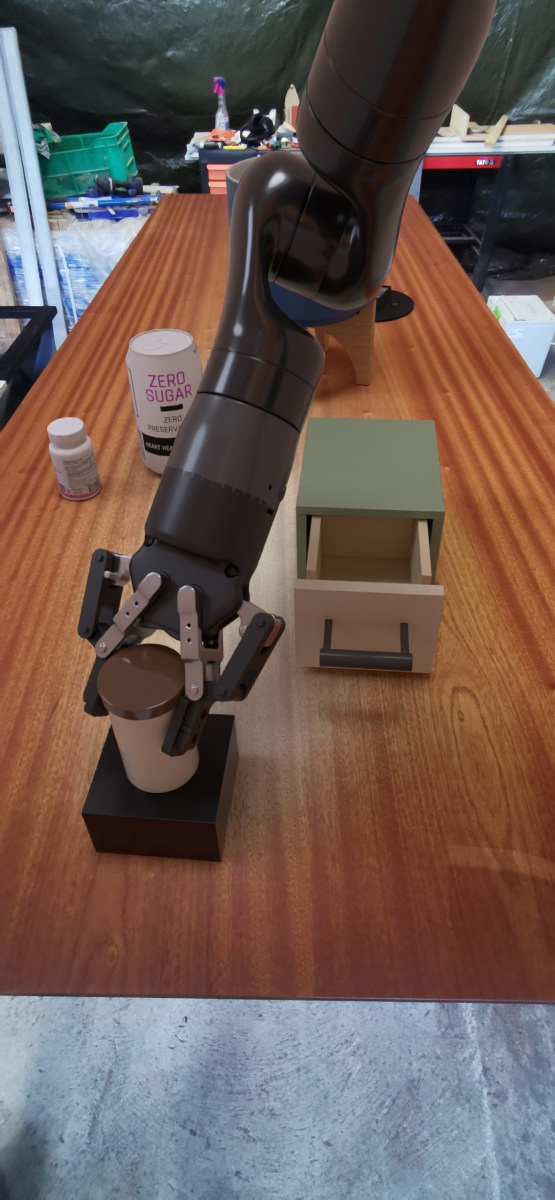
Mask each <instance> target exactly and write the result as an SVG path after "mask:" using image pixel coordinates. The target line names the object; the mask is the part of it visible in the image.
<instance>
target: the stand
mask: <svg viewBox="0 0 555 1200" xmlns="http://www.w3.org/2000/svg"><path fill="white" fill-rule="evenodd" d="M197 745H198V751H199V764H198V767H197V769H196V771H195V773H194V775H193V776H192V777H191V778H190V779H189V780H188V781H187V782H186V783H185V784H184V785H182V786H180V787H179V788H177V789H174V790H172V791H168V792H163V793H151V792H146V791H143V790H141V789H139V788H137V787H136V786H134V785H133V784H132V783H131V782H130V780H129V779H128V777H127V775H126V772H125V768H124V765H123V762H122V758H121V755H120V751H119V748H118V745H117V741H116V738H115V734H114V731H113V727H112V724H111V723H110V726H109V729H108V732H107V734H106V738H105V741H104V744H103V747H102V749H101V752H100V755H99V759H98V761H97V765H96V767H95V771H94V774H93V776H92V780H91V783H90V785H89V789H88V791H87V795H86V798H85V801H84V803H83V807H82V809H81V813H80V814H81V816H82V820H83V822H84V824H85V827H86V831H87V832H88V836H89V837H90V840H91V843H92V846H93V848H94V851H95V852H98V853H108V854H123V855H133V856H134V855H135V856H147V857H160V858H172V859H182V860H183V859H185V860H197V861H209V862H222V859H223V852H224V847H225V840H226V836H227V835H226V834H227V828H228V824H229V823H228V822H229V817H230V811H231V805H232V799H233V792H234V786H235V781H236V780H235V779H236V774H237V768H238V764H239V763H238V762H239V756H240V755H239V744H238V734H237V725H236V716H235V714H227V713H212V712H211V713H210V712H209V714H208V717H207V720H206V723H205V725H204V728H203V731H202V734H201V737H200V739H199V742H198V744H197Z"/></svg>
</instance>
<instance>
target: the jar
mask: <svg viewBox="0 0 555 1200" xmlns="http://www.w3.org/2000/svg"><path fill="white" fill-rule="evenodd" d="M97 688H98V692H99V695H100V698H101V701H102V703H103V705H104V706H105V708H106V709H107V710H108V714H109V715H108V717H109V720H110V725H111V724H112V727H113V731H114V734H115V738H116V741H117V745H118V748H119V751H120V755H121V758H122V762H123V765H124V768H125V772H126V775H127V777H128V779H129V780H130V782H131V783H132V784H133V785H134V786H136V787H137V788H139V789H141V790H143V791H146V792H151V793H163V792H168V791H172V790H174V789H177V788H179V787H180V786H182V785H184V784H185V783H186V782H187V781H188V780H189V779H190V778H191V777H192V776H193V775H194V773H195V771H196V769H197V767H198V764H199V751H198V745H196V746H195V747H194V749H192V750H187V752H186V753H185V754H184V755H181V756H175V757H171V756H169V755H167V754H165V753H163V752H162V751H161V748H162V744H163V742H164V739H165V736H166V733H167V730H168V728H169V725H170V722H171V719H172V717H173V714H174V711H175V708H176V705H177V703H178V700H179V698H180V697H181V696H186V692H185V664H184V662H183V660H182V659H181V653H179V652H178V651H177V650H175V649H174V648H172V647H170V646H168V645H166V644H161V643H152V642H151V643H150V642H147V643H141V644H138V645H133V646H130V647H127V648H125V649H123V650H120V651H119V652H117V653H115V654H114V655H113V656H111V657H110V658H109V659H108V660H107V661H106V662H105V663H104V665H103V666H102V668H101V670H100V672H99V674H98V678H97Z"/></svg>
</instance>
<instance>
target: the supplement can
mask: <svg viewBox="0 0 555 1200" xmlns="http://www.w3.org/2000/svg"><path fill="white" fill-rule="evenodd" d="M125 366H126V371H127V376H128V377H127V378H128V384H129V388H130V394H131V400H132V406H133V412H134V417H135V423H136V429H137V434H138V440H139V447H140V452H141V453H140V454H141V458H142V461H143V463H144V466H145V467H147V468H148V469H149V470H151V471H152V472H154V473H156V474H159V475H161V476H162V475H163V472H164V469H165V467H166V464H167V461H168V458H169V456H170V453H171V450H172V447H173V444H174V441H175V438H176V436H177V433H178V431H179V428H180V426H181V424H182V422H183V420H184V418H185V416H186V414H187V412H188V410H189V408H190V406H191V404H192V402H193V400H194V397H195V395H197V394H196V392H197V389H198V386H199V383H200V380H201V378H202V375H203V365H202V356H201V350H200V349H199V347H198V345H197V344H196V343H195V341H194V337H193V336H192V335H191V333H190V332H187V331H185V330H181V329H176V328H156V329H151V330H146V331H143V332H140V333H138V334H136V335H135V336H133V337H132V338H131V339H129V343H128V350H127V353H126V355H125Z"/></svg>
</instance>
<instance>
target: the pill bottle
mask: <svg viewBox="0 0 555 1200" xmlns="http://www.w3.org/2000/svg"><path fill="white" fill-rule="evenodd" d="M46 431H47V436H48V439H49V444H48V452H49V456H50V459H51V464H52V466H53V470H54V473H55V477H56V481H57V484H58V489H59V492H60V494H61V495H62V497H63V498H64V499H67V500H69V501H85V500H90V499H92V498H94V497H95V496H97V495H98V494H99V493H100V492H101V489H102V481H101V476H100V473H99V469H98V464H97V459H96V455H95V450H94V445H93V442H92V439H91V438H90V437H89V435H87V431H86V427H85V423H84V421H83V420H82V419H81V418H79V417H73V416H65V417H61V418H57V419H55V420H53V421H52V422H50V423H48V425H47V427H46Z"/></svg>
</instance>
